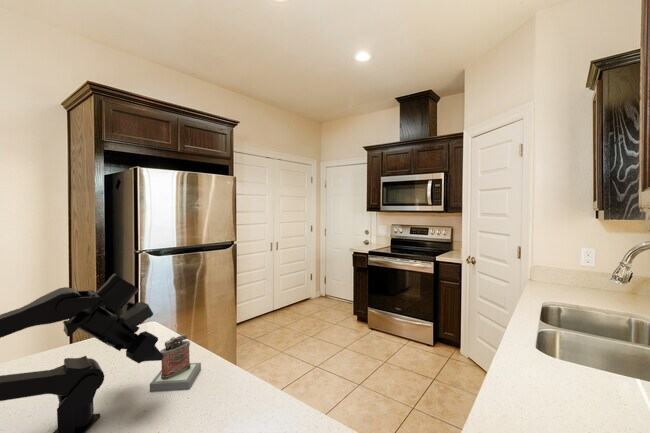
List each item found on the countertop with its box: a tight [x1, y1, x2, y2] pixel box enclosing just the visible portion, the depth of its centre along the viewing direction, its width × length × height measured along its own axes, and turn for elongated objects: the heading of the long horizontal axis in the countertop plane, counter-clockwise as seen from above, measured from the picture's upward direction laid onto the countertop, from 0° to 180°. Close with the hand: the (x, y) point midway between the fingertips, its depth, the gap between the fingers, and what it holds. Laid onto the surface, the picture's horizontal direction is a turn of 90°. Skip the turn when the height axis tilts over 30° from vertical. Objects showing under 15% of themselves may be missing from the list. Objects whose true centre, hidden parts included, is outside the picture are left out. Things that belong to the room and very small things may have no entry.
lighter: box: [159, 333, 191, 380], centre depth 86 cm, size 8×3×10 cm, turn 146°
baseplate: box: [149, 362, 202, 392], centre depth 86 cm, size 10×10×2 cm
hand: (153, 353), depth 81 cm, fingers open, 9 cm apart
